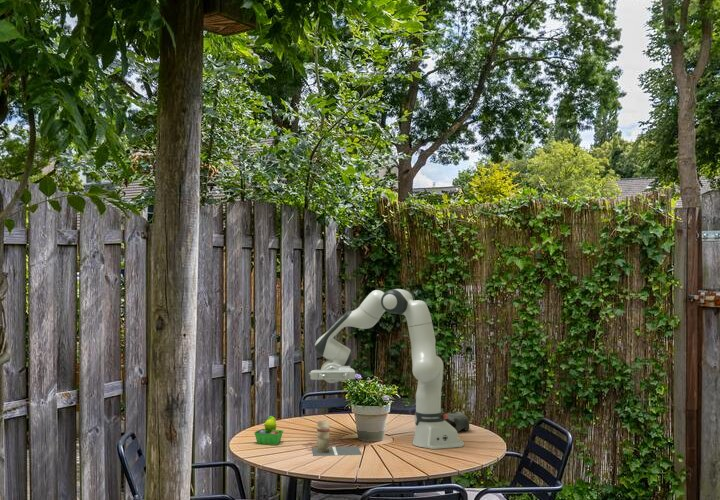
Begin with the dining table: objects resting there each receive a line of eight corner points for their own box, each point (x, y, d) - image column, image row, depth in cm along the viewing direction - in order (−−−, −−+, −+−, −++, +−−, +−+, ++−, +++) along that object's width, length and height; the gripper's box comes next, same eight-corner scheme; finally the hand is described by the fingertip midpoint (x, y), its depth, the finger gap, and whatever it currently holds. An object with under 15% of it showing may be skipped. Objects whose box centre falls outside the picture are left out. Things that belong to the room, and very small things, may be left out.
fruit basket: (253, 444, 284) (253, 418, 285) (261, 439, 292) (261, 414, 293) (277, 446, 281) (277, 419, 282) (284, 441, 290) (285, 415, 290)
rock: (437, 426, 324) (437, 410, 325) (458, 425, 327) (458, 409, 327) (449, 434, 306) (449, 417, 307) (471, 433, 309) (471, 416, 309)
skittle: (328, 449, 271) (329, 420, 271) (329, 452, 266) (329, 423, 266) (316, 450, 270) (316, 420, 271) (317, 453, 265) (317, 423, 266)
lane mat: (358, 448, 277) (358, 446, 277) (362, 457, 263) (362, 454, 263) (311, 450, 274) (311, 447, 274) (312, 458, 260) (313, 455, 260)
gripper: (308, 366, 296) (310, 370, 282) (353, 365, 298) (356, 369, 285) (308, 380, 295) (310, 384, 282) (353, 379, 298) (356, 383, 284)
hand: (334, 376), depth 283 cm, fingers open, 8 cm apart
